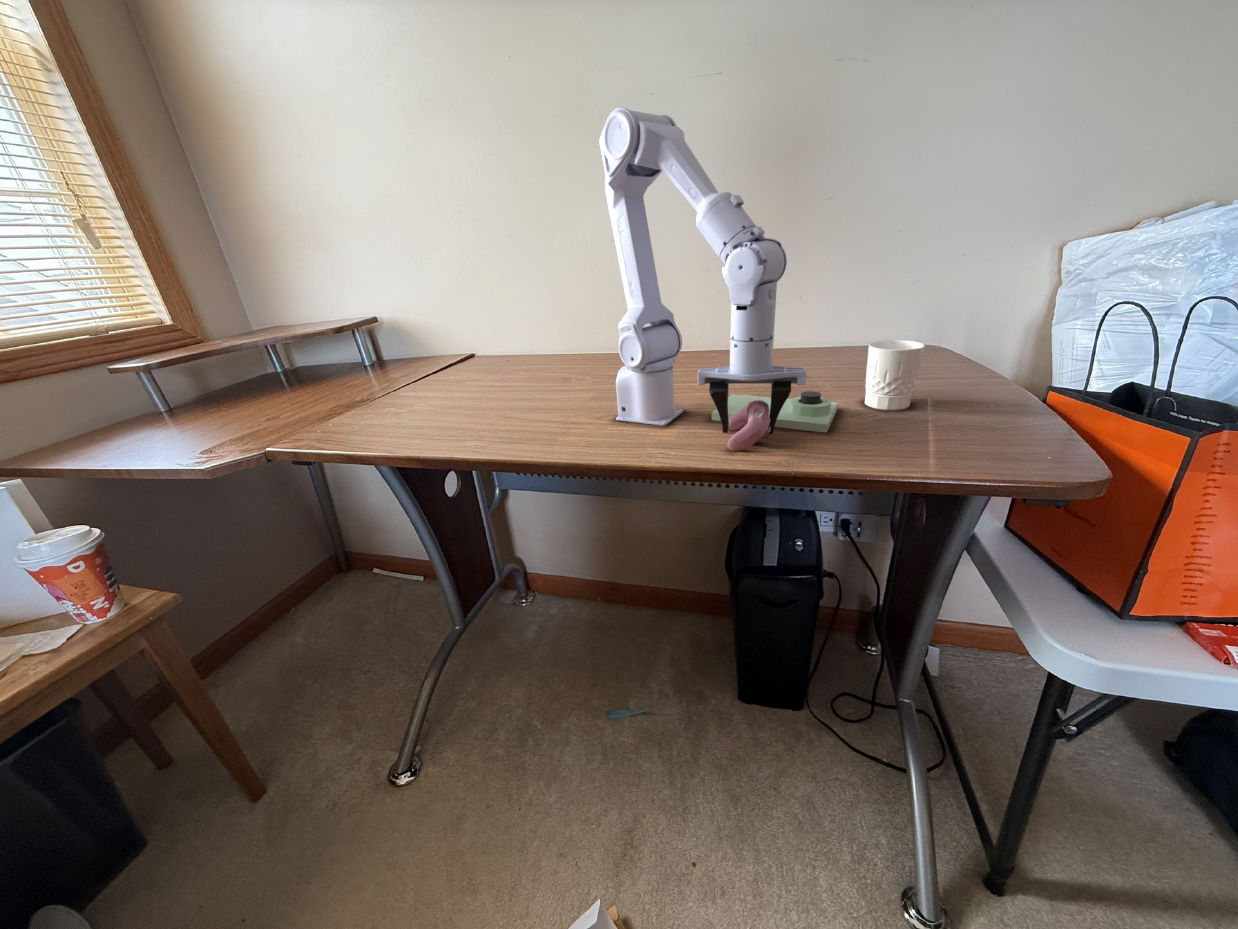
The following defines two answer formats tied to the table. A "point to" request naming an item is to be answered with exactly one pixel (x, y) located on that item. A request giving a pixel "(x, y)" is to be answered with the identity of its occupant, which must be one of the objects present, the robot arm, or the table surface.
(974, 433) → the table surface
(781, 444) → the table surface
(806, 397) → the button
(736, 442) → the video game controller
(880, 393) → the white cup
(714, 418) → the scale
